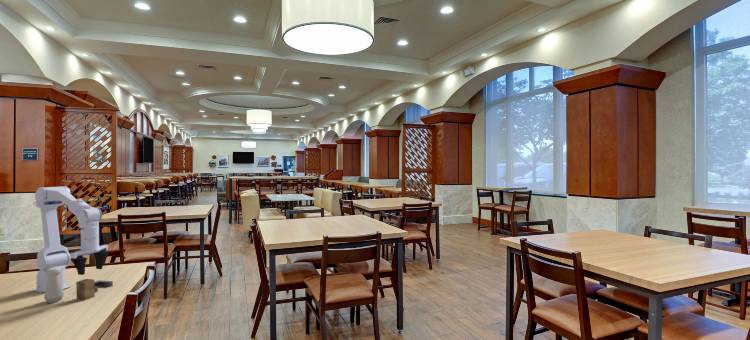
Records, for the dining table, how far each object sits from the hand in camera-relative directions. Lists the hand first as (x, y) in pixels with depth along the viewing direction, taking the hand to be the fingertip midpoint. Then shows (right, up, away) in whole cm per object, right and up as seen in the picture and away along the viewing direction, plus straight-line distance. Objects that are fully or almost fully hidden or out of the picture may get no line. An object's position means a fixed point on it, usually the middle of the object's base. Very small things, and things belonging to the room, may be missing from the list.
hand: (90, 271), depth 147 cm
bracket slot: (-4, -10, +10) cm, 15 cm away
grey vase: (-11, -11, -4) cm, 16 cm away
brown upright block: (-1, -10, -1) cm, 10 cm away
